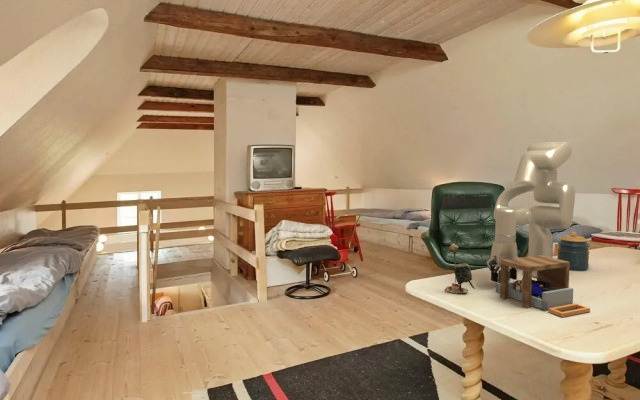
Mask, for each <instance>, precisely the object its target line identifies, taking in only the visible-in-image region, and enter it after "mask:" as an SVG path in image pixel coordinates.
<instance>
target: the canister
mask: <svg viewBox="0 0 640 400" xmlns="http://www.w3.org/2000/svg"><path fill="white" fill-rule="evenodd" d="M559 239H560V241H558V242H557V244H558V248H557V258H556V259H559V260H563V261H568V262H570V268H569V271H578V272H580V271H581V272H583V271H588V270H589V267H590V265H589V258H590V251H589V247H591V246H590V244H589V243H588V239H587V238H585V236H582V235H578V234H577V232H576V231H571V233H570V234H566V235H565V234H564V235H563V236H561V237H559Z"/></svg>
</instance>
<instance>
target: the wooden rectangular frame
mask: <svg viewBox="0 0 640 400" xmlns="http://www.w3.org/2000/svg"><path fill="white" fill-rule="evenodd" d="M548 313H549V314H551V315H555V316H556V317H559V318H567V317H572V316H577V315H583V314H589V313H591V308H590V307H588V306H585V305H582V304H580V303H573V304H570V305H564V306H559V307H553V308H549V310H548Z"/></svg>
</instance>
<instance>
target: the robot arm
mask: <svg viewBox="0 0 640 400" xmlns="http://www.w3.org/2000/svg"><path fill="white" fill-rule="evenodd" d="M572 149H573V148H572V146H571V144H570V143H569V142H568V141H545V142H534V143H531V144H529V145H528V147H527V149H526V151H525V152H524V153H522V155H521V157H520V159H519V162H518V165H517V166H518V167H517V170H516V173H515V176H514V179H513V182H512V183H511V184H510V185H509V186H507V187H506V188H505V189H504V190H503V191H502V192H501V193H500V194H499V195H498V197H497V199H496V202H495V206H494V210H493V219H494V221H495V228H494V229H495V230H494V241H493V242H492V246H491V253H490V258H489V259H488V260H487V261H486V265H487V268H488V269H489V271H490V281H492V282H494V283H498V278H499V270H500V269H501V260H504V259H513V258H521V257H519V256H518V246H517V242H516V241H517V240H516V239H517V226H520V227H523V226H527V225H528V255H527V257H529V256H538V255H542V256H547V257H551V258H553V253H554V251H553V249H554V236H553V234H552V232H551V230H550V229H556V230H567V229H570V227H571V226H572V225H573V218H574V210H575V209H574V208H575V202H576V201H575V199H576V190H575V187H574V185H572V184H571V183H570V182H562V181H561V182H558V181H557V179H558V170H557V169H559V168H560V167H562V165H563V164H565V163H566V162H567V161H568V160H569V159H570V157H571V155H572ZM530 191H533V199H534V201H535V202H537V203H541V204H553V205H554V204H555V205H559V206H552V205H551V206H550V205H535V206H532V207H530V208H526V207H522V206H521V207H520V206H511V205H510V206H509V205H508V204H509V203H510V201H511V200H513V199H514V198H516V197H518V196H520V195H522V194H525V193H528V192H530ZM518 270H519V269H516V268H513V267H510V266H509V271H510V280H514V281H517V280H518V279H517V277H518ZM532 278H537V271H532Z"/></svg>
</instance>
